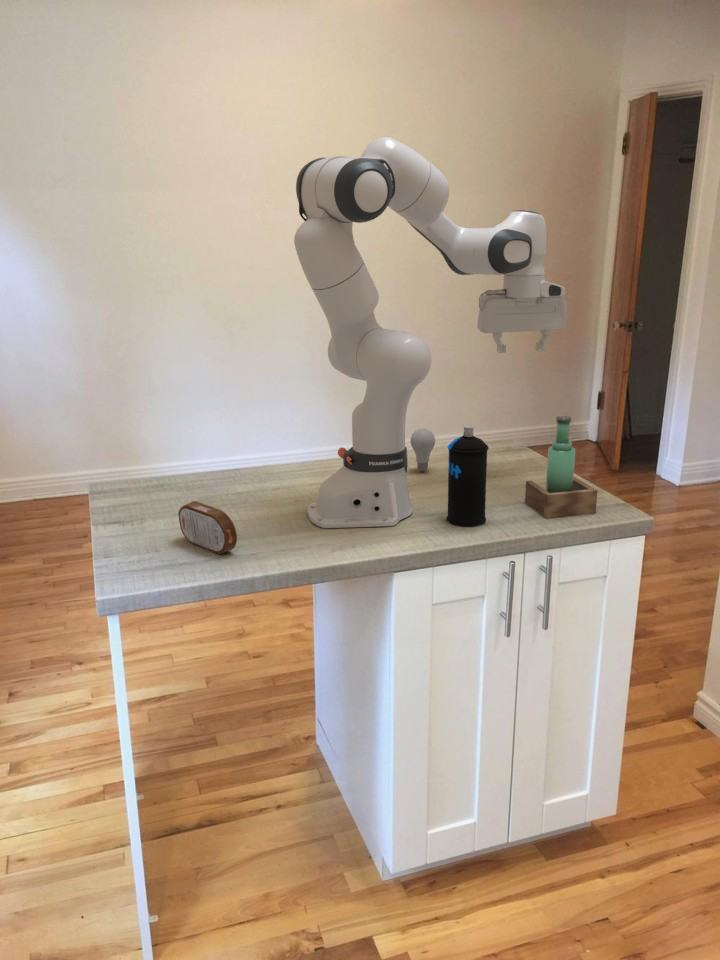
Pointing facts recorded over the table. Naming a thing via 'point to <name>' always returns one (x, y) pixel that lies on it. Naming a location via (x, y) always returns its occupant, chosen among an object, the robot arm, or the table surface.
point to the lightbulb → (422, 447)
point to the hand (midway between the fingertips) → (520, 351)
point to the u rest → (562, 500)
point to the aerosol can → (467, 480)
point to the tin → (207, 527)
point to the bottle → (561, 459)
